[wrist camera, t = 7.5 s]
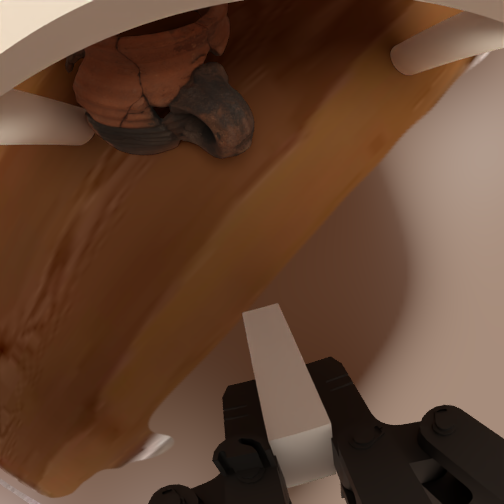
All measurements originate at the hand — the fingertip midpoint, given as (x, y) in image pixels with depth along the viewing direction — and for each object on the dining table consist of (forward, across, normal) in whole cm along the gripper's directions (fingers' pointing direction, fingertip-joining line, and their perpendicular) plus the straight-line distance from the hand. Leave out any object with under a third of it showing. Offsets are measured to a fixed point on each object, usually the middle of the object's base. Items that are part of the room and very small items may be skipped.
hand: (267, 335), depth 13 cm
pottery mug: (+8, -2, +12) cm, 15 cm away
